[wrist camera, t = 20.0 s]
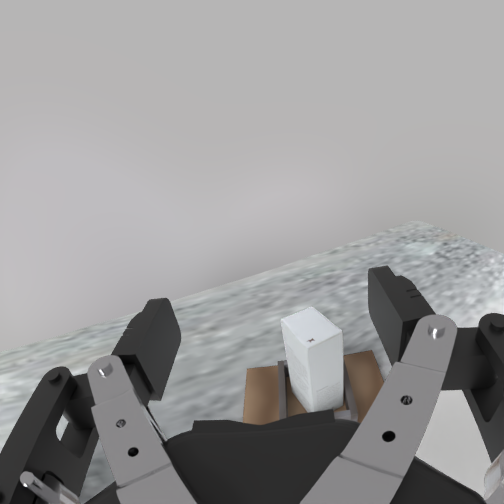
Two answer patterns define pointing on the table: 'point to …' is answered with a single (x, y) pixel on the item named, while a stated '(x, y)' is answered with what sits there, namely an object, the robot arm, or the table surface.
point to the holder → (286, 404)
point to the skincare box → (314, 359)
